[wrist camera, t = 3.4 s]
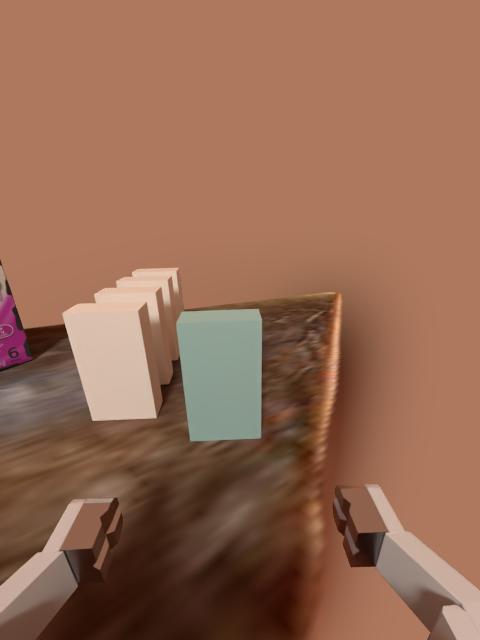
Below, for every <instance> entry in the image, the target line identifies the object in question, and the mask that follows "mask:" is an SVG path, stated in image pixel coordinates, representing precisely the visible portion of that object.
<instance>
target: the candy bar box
mask: <svg viewBox="0 0 480 640" xmlns="http://www.w3.org/2000/svg"><path fill="white" fill-rule="evenodd" d="M32 359H33V356H32V353H31V350H30V347H29V344H28V341H27V338H26V335H25V332H24V329H23V326H22V323H21V320H20V317H19V314H18V311H17V308H16V305H15V302H14V299H13V296H12V293H11V290H10V287H9V284H8V282H7V278H6V275H5V272H4V269H3V267H2V264H1V261H0V371H1V370H4V369H7V368H10V367H13V366H15V365H18V364H21V363H24V362H27V361H30V360H32Z"/></svg>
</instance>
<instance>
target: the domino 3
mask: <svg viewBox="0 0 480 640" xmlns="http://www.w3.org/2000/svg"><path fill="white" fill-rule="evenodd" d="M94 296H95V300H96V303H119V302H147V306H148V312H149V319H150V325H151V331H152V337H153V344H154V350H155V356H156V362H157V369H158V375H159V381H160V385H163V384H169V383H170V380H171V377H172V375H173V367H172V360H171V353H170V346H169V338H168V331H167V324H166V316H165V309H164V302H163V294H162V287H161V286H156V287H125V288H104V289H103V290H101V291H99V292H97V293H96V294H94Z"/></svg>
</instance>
